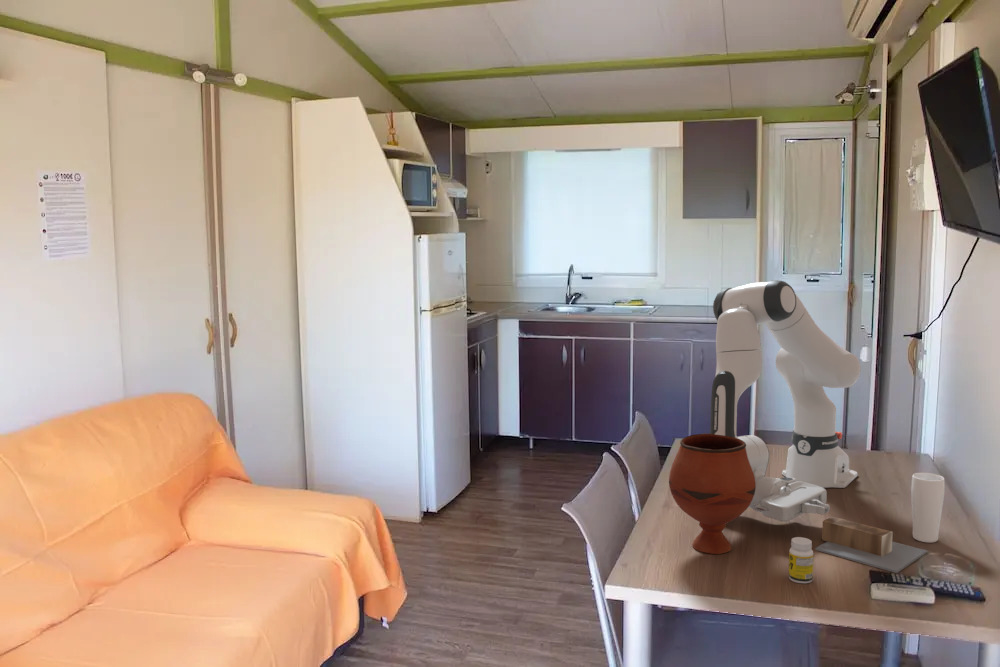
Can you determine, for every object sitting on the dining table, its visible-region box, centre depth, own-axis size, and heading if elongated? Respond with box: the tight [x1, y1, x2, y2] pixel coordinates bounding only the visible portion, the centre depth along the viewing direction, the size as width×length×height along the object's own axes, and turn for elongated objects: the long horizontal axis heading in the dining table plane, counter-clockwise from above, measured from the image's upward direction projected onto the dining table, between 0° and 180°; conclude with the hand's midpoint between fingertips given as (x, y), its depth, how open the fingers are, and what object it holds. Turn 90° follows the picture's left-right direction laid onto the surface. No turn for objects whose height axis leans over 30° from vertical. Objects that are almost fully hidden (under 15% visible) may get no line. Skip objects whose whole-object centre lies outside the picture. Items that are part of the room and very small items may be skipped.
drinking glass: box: [910, 472, 945, 544], centre depth 194 cm, size 7×7×15 cm
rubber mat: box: [815, 541, 928, 574], centre depth 189 cm, size 16×18×1 cm
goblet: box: [668, 432, 756, 555], centre depth 191 cm, size 19×19×25 cm
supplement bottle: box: [788, 536, 814, 584], centre depth 174 cm, size 5×5×8 cm
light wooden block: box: [821, 516, 894, 557], centre depth 191 cm, size 4×4×14 cm
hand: (826, 509), depth 196 cm, fingers closed
